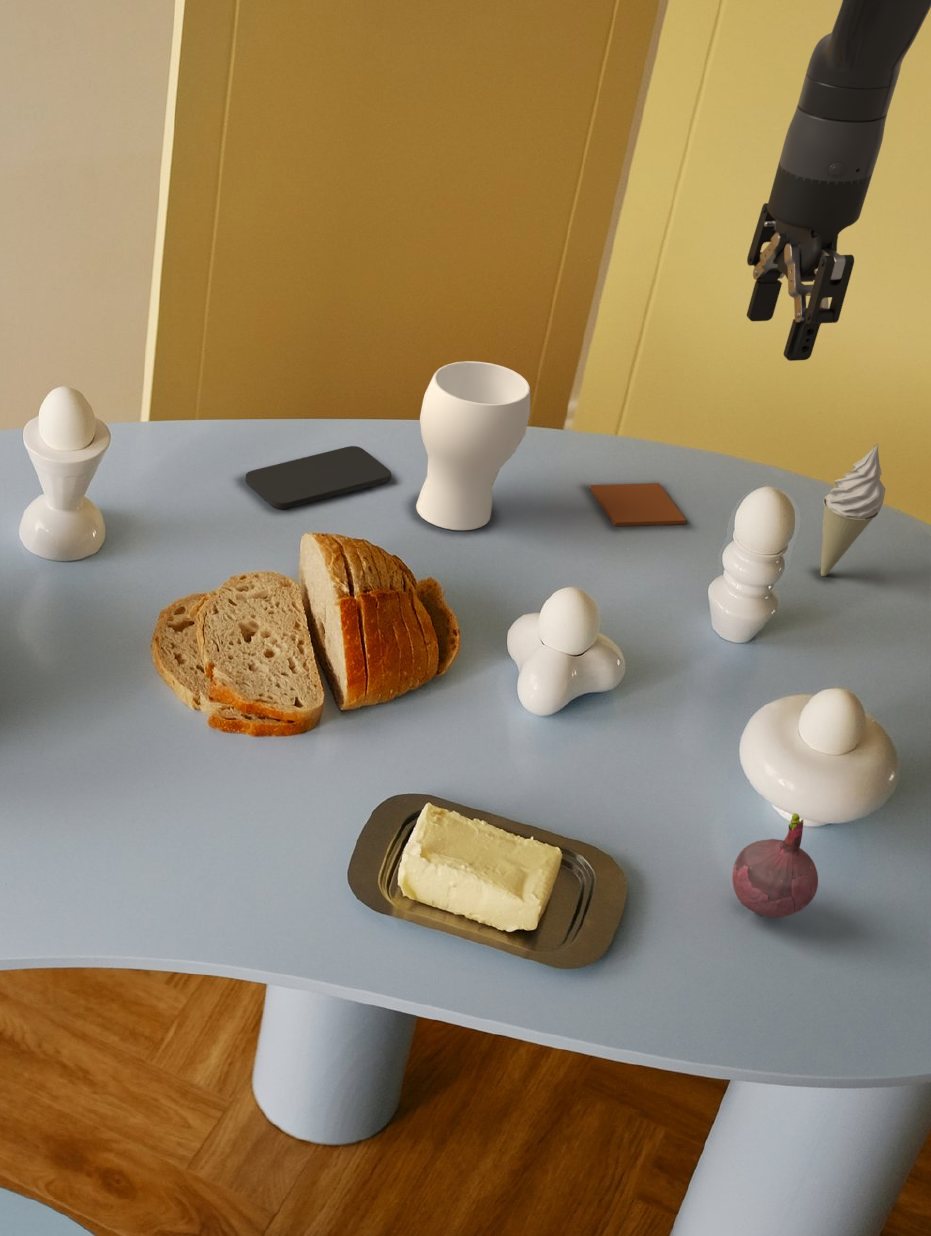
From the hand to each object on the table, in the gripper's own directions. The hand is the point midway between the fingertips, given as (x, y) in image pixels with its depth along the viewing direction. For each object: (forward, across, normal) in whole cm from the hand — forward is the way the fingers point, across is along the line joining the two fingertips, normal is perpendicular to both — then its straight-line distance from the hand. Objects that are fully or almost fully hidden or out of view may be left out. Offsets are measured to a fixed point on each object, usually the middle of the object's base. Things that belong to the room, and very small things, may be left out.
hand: (776, 338), depth 152 cm
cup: (+24, +10, +24) cm, 35 cm away
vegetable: (+25, -49, +15) cm, 57 cm away
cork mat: (+24, +11, +4) cm, 27 cm away
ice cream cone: (+25, -2, -10) cm, 27 cm away
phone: (+23, +17, +37) cm, 47 cm away
